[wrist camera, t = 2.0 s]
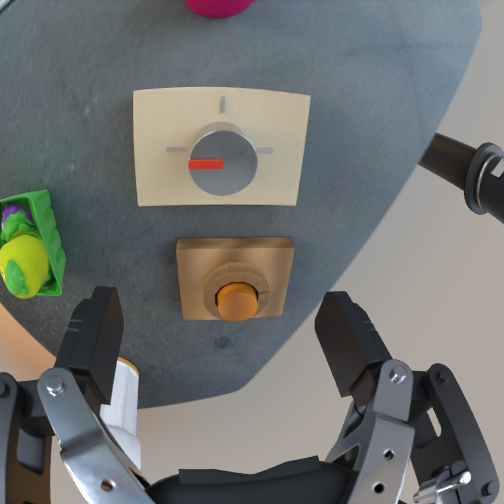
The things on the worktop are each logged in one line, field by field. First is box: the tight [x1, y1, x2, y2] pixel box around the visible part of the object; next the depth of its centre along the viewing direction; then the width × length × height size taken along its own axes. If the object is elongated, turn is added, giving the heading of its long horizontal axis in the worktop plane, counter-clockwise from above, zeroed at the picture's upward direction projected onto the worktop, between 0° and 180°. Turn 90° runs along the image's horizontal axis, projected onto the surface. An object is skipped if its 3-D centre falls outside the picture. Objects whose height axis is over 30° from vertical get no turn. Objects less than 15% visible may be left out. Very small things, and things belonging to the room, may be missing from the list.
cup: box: [100, 357, 141, 470], centre depth 32 cm, size 11×11×17 cm
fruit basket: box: [0, 189, 66, 299], centre depth 19 cm, size 11×9×11 cm
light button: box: [217, 282, 258, 321], centre depth 28 cm, size 4×4×2 cm
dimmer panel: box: [133, 87, 311, 206], centre depth 22 cm, size 14×10×3 cm
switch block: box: [176, 237, 295, 321], centre depth 30 cm, size 12×10×4 cm
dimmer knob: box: [188, 122, 258, 196], centre depth 18 cm, size 4×4×5 cm
